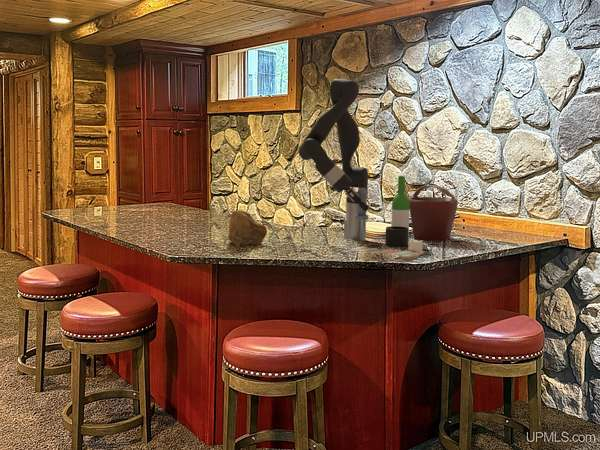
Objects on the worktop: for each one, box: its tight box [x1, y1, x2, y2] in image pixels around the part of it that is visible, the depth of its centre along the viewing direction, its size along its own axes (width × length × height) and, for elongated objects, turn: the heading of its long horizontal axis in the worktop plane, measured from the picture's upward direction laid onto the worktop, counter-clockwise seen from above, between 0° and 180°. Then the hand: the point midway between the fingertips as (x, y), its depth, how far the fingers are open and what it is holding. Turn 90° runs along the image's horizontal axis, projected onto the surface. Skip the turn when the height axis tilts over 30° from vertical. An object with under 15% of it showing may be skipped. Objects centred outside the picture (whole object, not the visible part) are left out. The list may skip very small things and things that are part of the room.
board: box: [349, 246, 420, 262], centre depth 262 cm, size 27×11×2 cm, turn 57°
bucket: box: [408, 184, 458, 242], centre depth 306 cm, size 24×22×25 cm
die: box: [407, 239, 424, 256], centre depth 267 cm, size 5×5×5 cm
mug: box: [384, 225, 409, 248], centre depth 278 cm, size 9×12×9 cm
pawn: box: [355, 188, 369, 221], centre depth 265 cm, size 5×5×13 cm
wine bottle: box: [390, 175, 410, 241], centre depth 289 cm, size 8×8×30 cm
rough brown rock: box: [227, 209, 268, 247], centre depth 285 cm, size 23×17×15 cm
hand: (366, 209), depth 265 cm, fingers closed on pawn, 3 cm apart
